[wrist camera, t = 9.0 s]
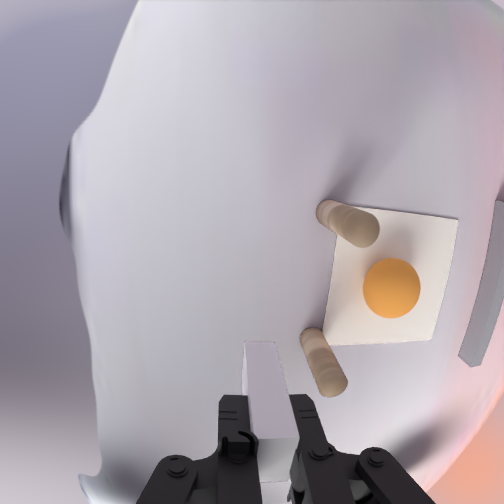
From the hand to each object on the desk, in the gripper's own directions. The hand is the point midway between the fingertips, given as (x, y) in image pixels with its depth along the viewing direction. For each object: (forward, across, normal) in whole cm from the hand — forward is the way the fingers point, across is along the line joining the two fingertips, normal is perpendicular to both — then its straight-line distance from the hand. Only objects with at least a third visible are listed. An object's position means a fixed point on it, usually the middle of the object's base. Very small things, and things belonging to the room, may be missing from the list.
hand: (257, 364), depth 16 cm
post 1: (+14, -7, +6) cm, 17 cm away
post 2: (+14, -7, -6) cm, 17 cm away
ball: (+11, -13, 0) cm, 17 cm away
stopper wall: (+14, -29, 0) cm, 32 cm away
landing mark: (+14, -15, 0) cm, 20 cm away
